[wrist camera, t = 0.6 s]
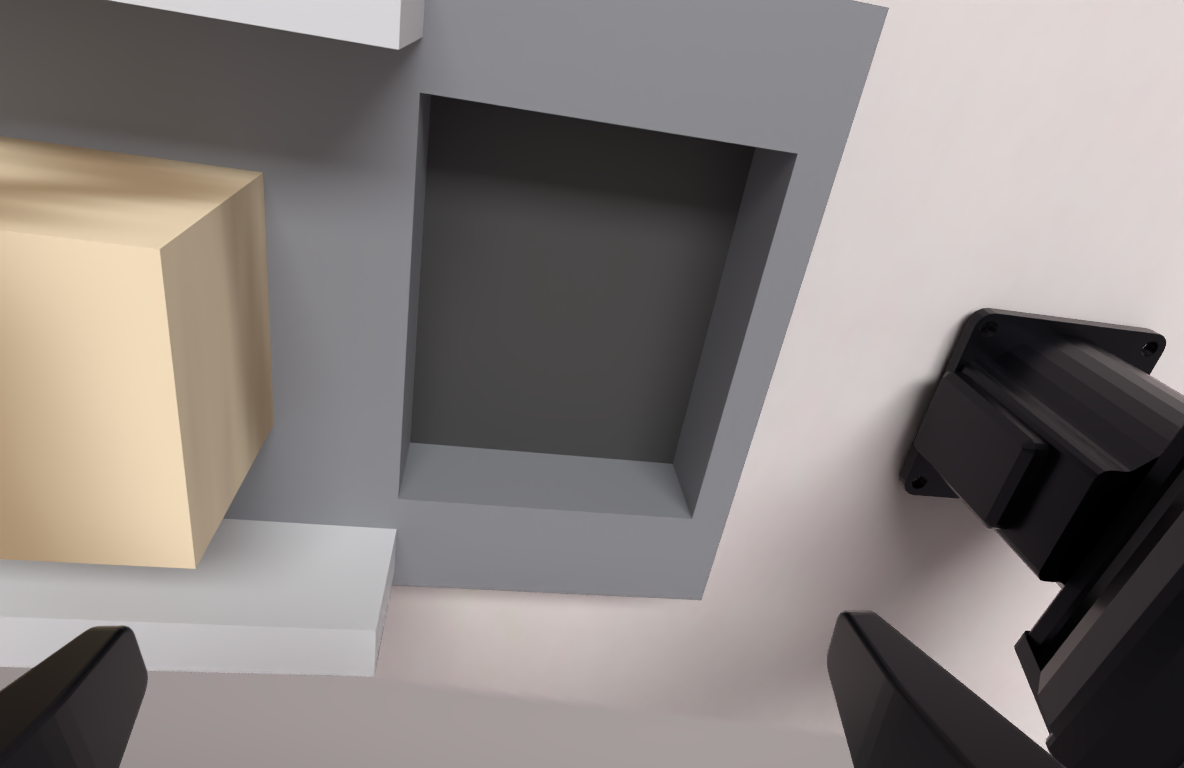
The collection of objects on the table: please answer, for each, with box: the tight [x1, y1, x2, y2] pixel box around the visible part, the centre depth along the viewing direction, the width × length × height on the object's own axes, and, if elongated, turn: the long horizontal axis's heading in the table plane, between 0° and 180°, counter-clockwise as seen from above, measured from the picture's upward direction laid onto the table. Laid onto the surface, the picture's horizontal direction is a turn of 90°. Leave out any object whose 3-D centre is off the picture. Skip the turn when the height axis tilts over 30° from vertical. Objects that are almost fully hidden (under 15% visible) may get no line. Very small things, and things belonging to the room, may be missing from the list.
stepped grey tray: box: [0, 0, 889, 677], centre depth 15 cm, size 33×16×6 cm, turn 80°
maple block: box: [0, 136, 274, 569], centre depth 13 cm, size 6×6×5 cm
